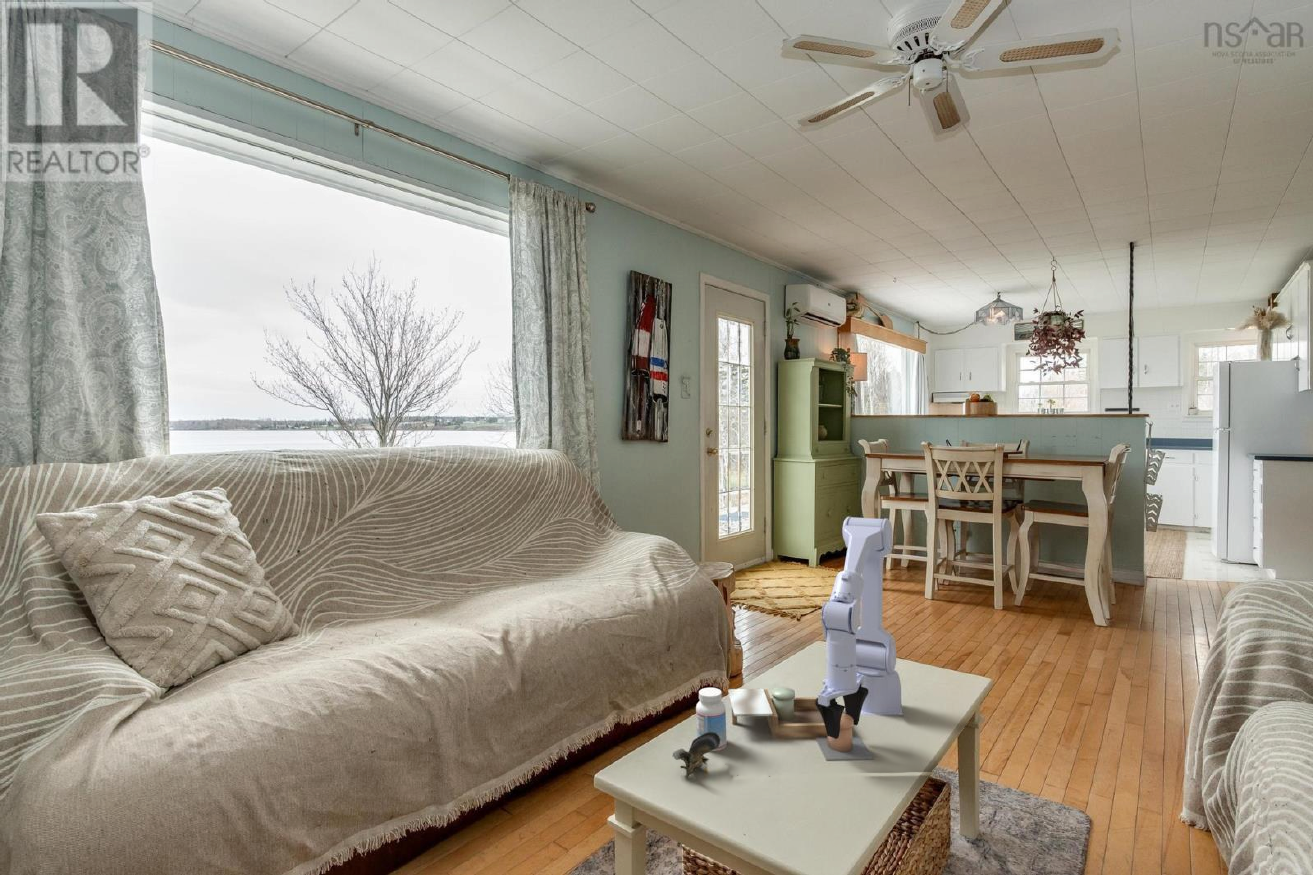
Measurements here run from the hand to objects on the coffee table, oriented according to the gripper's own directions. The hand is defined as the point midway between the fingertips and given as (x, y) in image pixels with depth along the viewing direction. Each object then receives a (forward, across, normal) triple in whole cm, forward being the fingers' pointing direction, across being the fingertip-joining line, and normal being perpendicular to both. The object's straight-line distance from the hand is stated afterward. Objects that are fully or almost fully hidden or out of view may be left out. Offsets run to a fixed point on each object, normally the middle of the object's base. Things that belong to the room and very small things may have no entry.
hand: (842, 730), depth 128 cm
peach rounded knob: (+3, 0, -1) cm, 4 cm away
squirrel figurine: (+4, +25, -17) cm, 30 cm away
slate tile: (+4, 0, 0) cm, 4 cm away
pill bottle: (+4, +16, -20) cm, 27 cm away
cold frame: (+4, -2, -15) cm, 16 cm away
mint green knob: (+4, -4, -17) cm, 18 cm away
